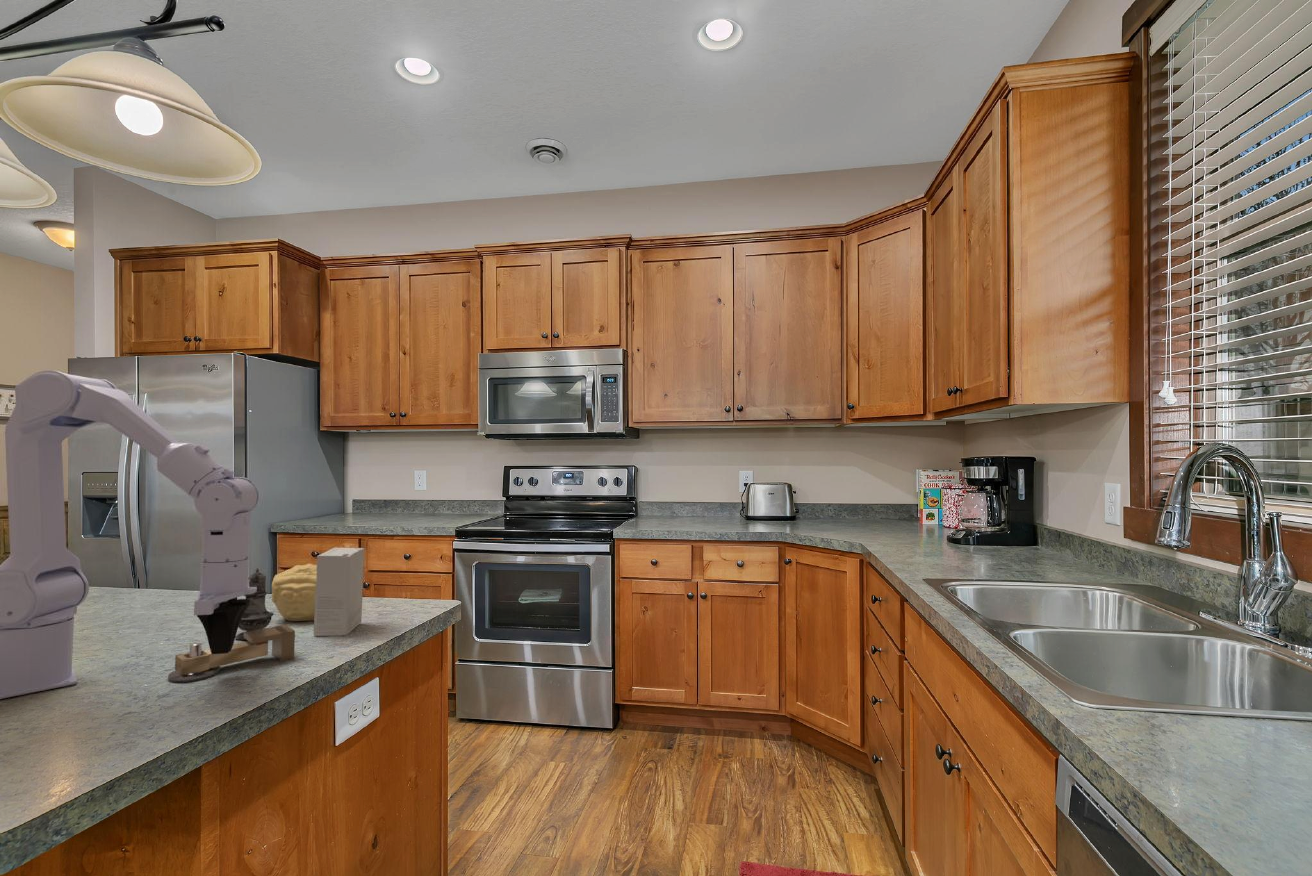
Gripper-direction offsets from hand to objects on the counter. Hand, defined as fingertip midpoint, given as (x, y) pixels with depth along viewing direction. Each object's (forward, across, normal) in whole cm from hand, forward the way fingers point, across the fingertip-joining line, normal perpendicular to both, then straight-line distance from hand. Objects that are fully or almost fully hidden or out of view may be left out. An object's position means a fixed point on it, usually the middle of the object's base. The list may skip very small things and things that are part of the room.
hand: (221, 652), depth 86 cm
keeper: (+3, +6, -4) cm, 8 cm away
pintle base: (+3, +2, +4) cm, 5 cm away
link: (+3, +4, +1) cm, 4 cm away
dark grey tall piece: (+4, +21, +2) cm, 21 cm away
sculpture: (+4, +32, -4) cm, 33 cm away
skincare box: (+4, +21, -12) cm, 24 cm away
